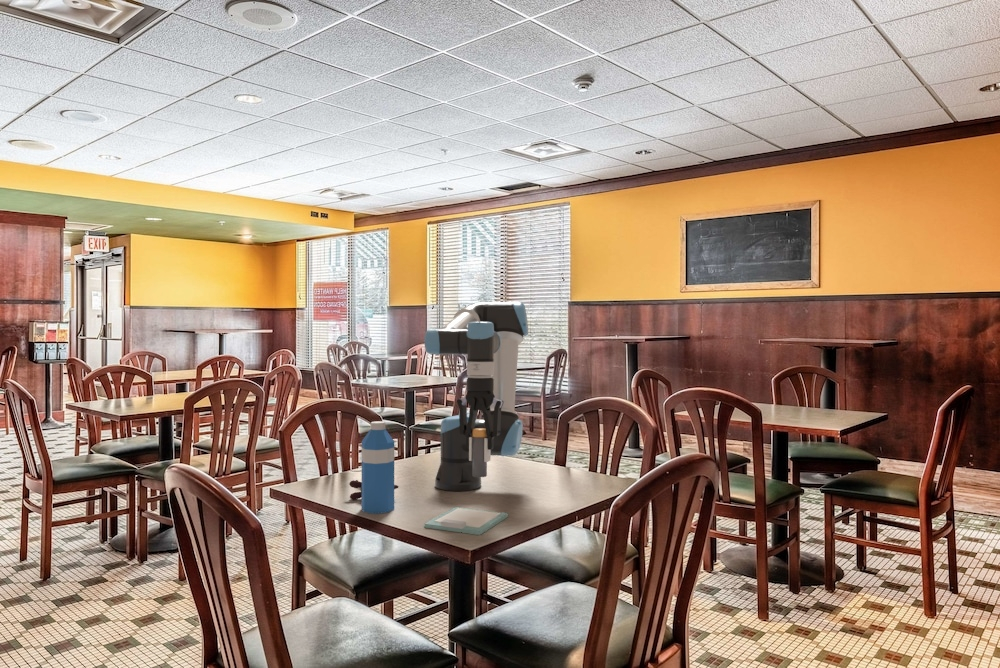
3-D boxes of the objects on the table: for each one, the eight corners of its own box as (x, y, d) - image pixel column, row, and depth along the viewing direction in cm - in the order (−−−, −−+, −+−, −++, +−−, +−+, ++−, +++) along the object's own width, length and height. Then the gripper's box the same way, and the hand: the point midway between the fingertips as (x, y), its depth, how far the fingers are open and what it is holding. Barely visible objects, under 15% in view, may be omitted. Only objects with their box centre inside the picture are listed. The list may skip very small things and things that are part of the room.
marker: (475, 474, 192) (476, 428, 193) (489, 475, 191) (489, 428, 191) (469, 476, 188) (470, 429, 189) (483, 477, 187) (484, 430, 187)
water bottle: (396, 504, 200) (396, 420, 199) (392, 513, 190) (392, 424, 190) (364, 505, 199) (364, 420, 199) (358, 513, 190) (358, 424, 190)
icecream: (400, 475, 210) (352, 479, 211) (395, 474, 203) (346, 478, 204) (401, 498, 209) (352, 502, 209) (396, 498, 202) (346, 502, 202)
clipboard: (455, 510, 194) (455, 502, 194) (507, 516, 187) (507, 508, 187) (424, 527, 177) (424, 519, 177) (479, 535, 171) (479, 526, 171)
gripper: (446, 376, 190) (446, 460, 189) (503, 378, 183) (503, 465, 183) (458, 375, 197) (458, 456, 196) (513, 377, 190) (512, 460, 190)
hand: (479, 460), depth 190 cm, fingers closed on marker, 4 cm apart
